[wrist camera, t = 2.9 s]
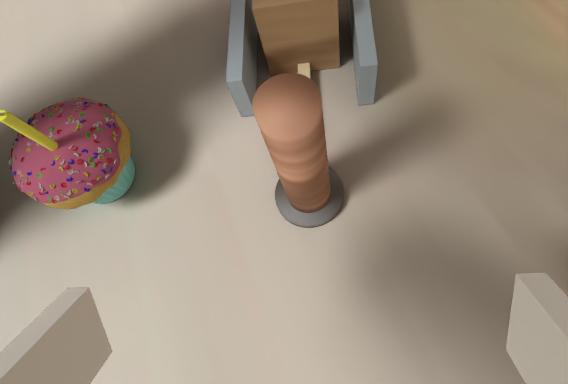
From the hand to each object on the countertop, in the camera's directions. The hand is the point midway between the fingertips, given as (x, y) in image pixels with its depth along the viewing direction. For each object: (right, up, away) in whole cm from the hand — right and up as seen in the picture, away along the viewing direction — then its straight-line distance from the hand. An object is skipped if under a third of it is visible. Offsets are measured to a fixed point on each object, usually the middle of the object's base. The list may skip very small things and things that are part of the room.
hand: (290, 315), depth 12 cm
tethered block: (+2, +11, +19) cm, 22 cm away
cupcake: (-15, +5, +20) cm, 25 cm away
